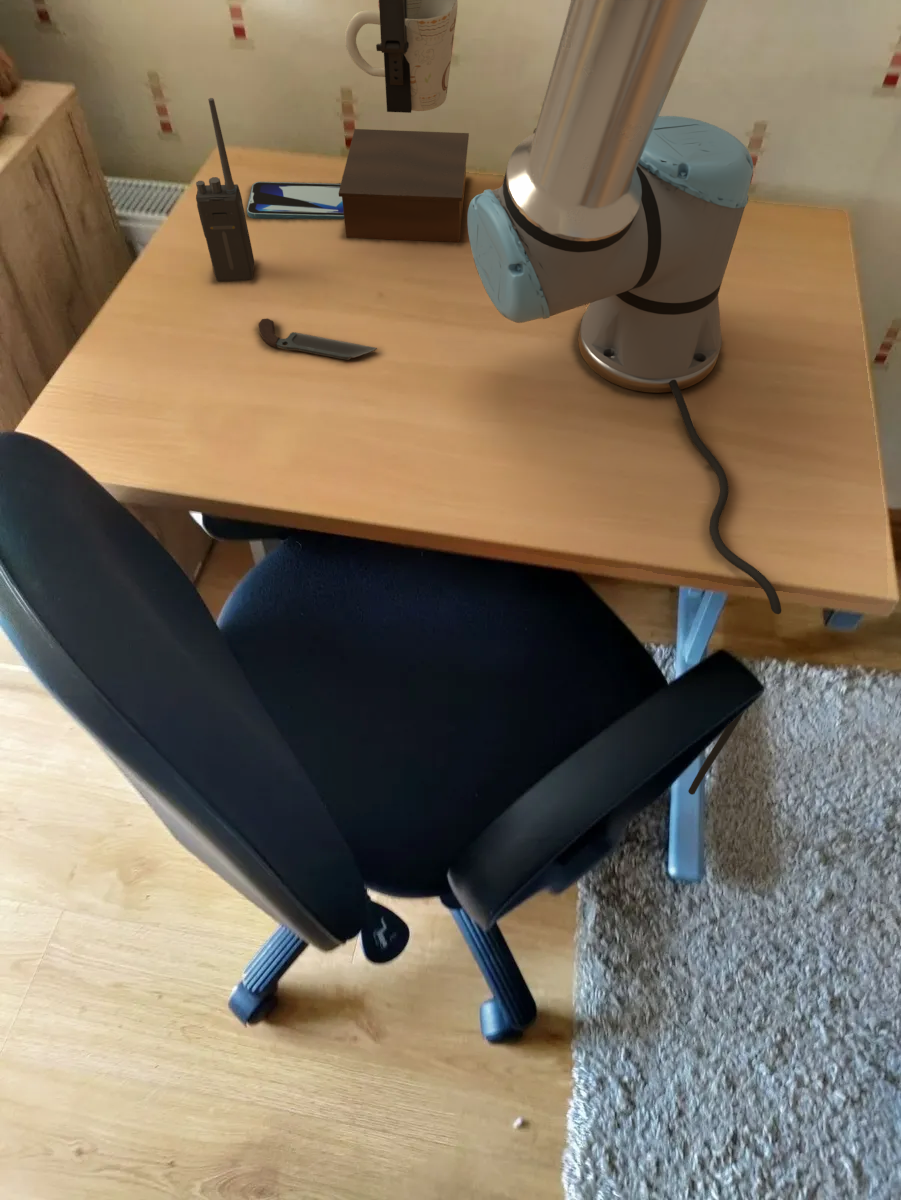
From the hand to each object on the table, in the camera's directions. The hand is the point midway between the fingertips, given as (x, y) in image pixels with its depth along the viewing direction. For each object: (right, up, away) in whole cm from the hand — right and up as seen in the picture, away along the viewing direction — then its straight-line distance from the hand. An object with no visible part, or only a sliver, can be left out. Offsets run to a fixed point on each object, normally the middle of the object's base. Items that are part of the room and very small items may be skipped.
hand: (402, 94), depth 100 cm
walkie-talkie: (-20, -19, +5) cm, 28 cm away
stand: (0, -7, +12) cm, 14 cm away
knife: (-9, -29, -3) cm, 31 cm away
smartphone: (-13, -7, +13) cm, 20 cm away
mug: (0, 0, 0) cm, 1 cm away
